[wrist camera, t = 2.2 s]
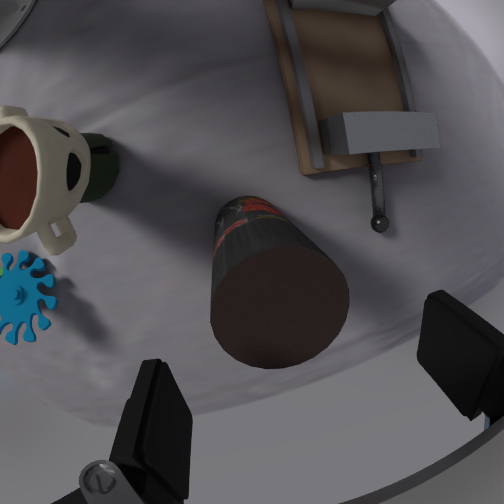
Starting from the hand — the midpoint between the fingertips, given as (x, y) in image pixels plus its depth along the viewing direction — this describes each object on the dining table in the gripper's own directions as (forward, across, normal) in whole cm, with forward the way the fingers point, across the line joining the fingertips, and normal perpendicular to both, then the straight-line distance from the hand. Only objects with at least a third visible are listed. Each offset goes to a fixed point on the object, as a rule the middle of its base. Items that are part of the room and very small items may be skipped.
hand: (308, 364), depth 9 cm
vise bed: (+18, -12, -16) cm, 26 cm away
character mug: (+18, +14, -10) cm, 24 cm away
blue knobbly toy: (+18, +26, 0) cm, 31 cm away
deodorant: (+18, 0, -1) cm, 18 cm away
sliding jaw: (+17, -12, -4) cm, 21 cm away
